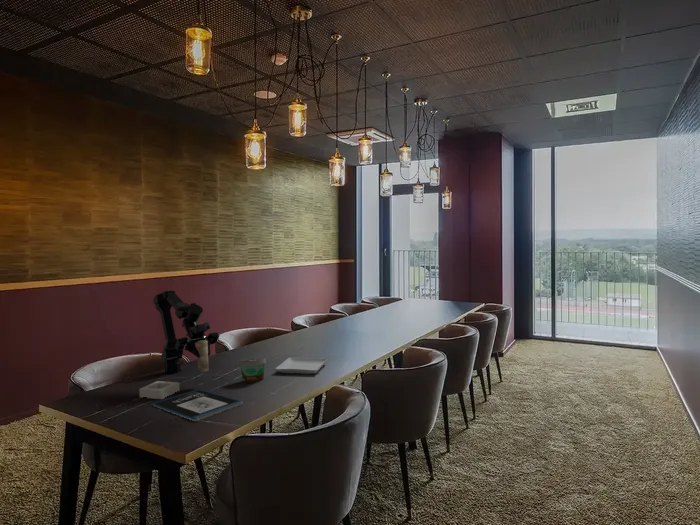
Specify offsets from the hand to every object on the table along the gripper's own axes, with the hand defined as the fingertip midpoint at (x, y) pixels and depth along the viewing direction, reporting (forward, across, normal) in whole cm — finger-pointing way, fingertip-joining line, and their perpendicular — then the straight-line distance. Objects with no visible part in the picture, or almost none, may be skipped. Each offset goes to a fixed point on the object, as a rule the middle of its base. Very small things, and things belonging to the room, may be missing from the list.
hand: (204, 356), depth 202 cm
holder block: (+6, -18, +13) cm, 23 cm away
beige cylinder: (+4, 0, +6) cm, 7 cm away
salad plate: (+17, +46, +3) cm, 49 cm away
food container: (+17, +18, +3) cm, 25 cm away
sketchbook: (+24, -13, -4) cm, 27 cm away
